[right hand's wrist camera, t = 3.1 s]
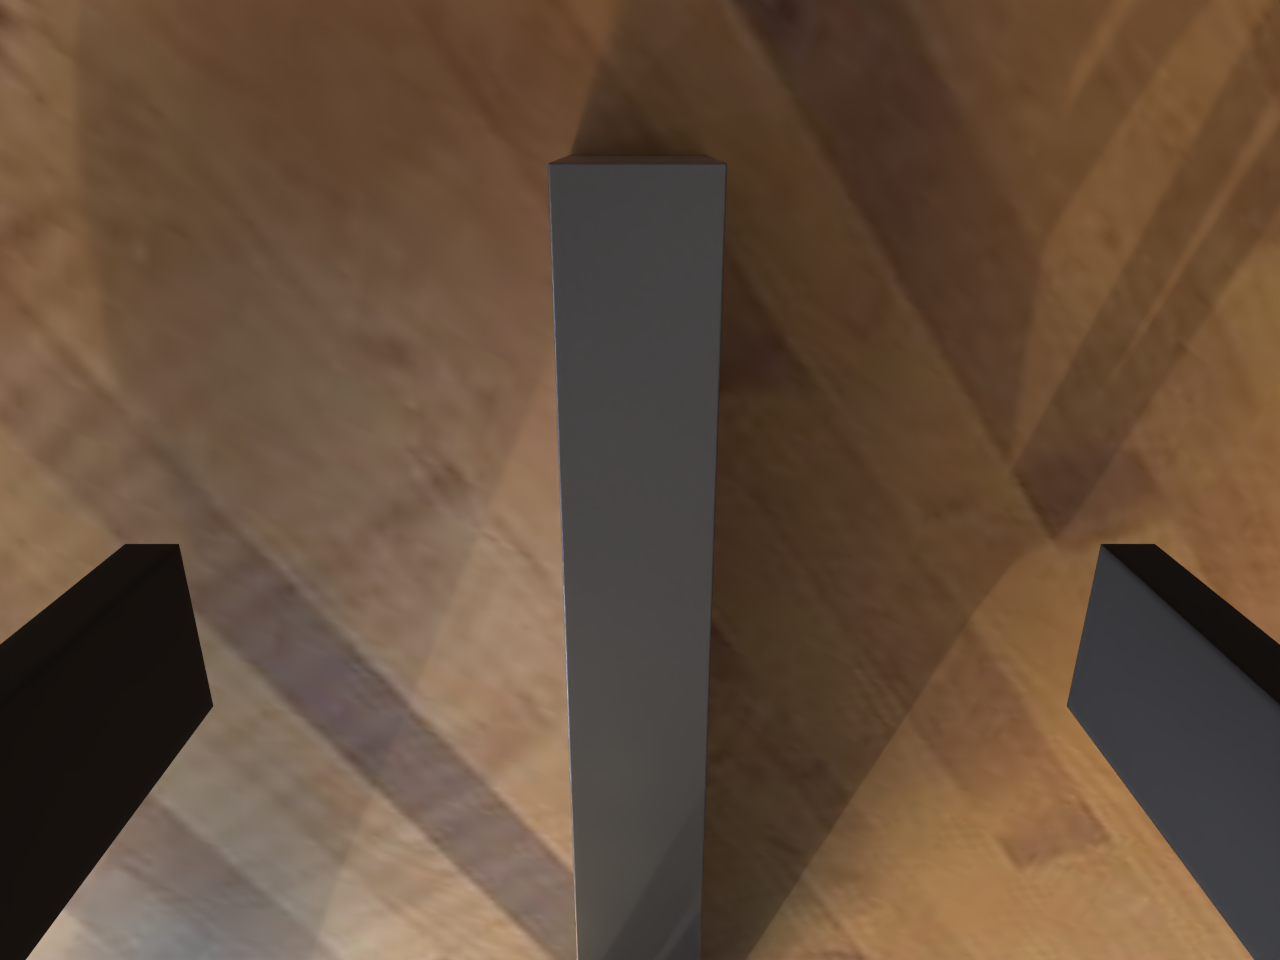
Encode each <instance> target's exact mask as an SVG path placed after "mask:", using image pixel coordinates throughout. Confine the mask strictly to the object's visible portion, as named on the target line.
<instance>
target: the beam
mask: <svg viewBox="0 0 1280 960" xmlns="http://www.w3.org/2000/svg"><path fill="white" fill-rule="evenodd" d="M548 174H549V202H550V230H551V258H552V286H553V313H554V341H555V369H556V397H557V425H558V453H559V481H560V508H561V536H562V564H563V592H564V620H565V648H566V676H567V703H568V731H569V759H570V787H571V815H572V843H573V871H574V898H575V926H576V954H577V960H700V945H701V916H702V886H703V857H704V827H705V798H706V769H707V739H708V710H709V680H710V651H711V622H712V592H713V563H714V534H715V504H716V475H717V445H718V416H719V387H720V357H721V328H722V298H723V269H724V240H725V210H726V181H727V164H726V163H724V162H722V161H719V160H717V159H714V158H712V157H709V156H707V155H569V156H567V157H564V158H561V159H559V160H556V161H554V162H551V163H549V164H548Z"/></svg>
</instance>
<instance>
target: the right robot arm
mask: <svg viewBox="0 0 1280 960" xmlns="http://www.w3.org/2000/svg"><path fill="white" fill-rule="evenodd" d="M212 707H213V703H212V698H211V693H210V689H209V684H208V679H207V674H206V670H205V665H204V660H203V656H202V651H201V646H200V641H199V637H198V632H197V627H196V622H195V618H194V613H193V608H192V604H191V599H190V594H189V589H188V585H187V580H186V575H185V570H184V566H183V561H182V556H181V551H180V547H179V544H125V545H123V546H122V547H121V548H120V549H118V550H117V551H116V552H115V553H113V554H112V555H111V556H110V557H109V558H107V559H106V560H105V561H104V562H102V563H101V564H100V565H99V566H97V567H96V568H95V569H94V570H92V571H91V572H90V573H89V574H87V575H86V576H85V577H84V578H82V579H81V580H80V581H79V582H77V583H76V584H75V585H74V586H73V587H71V588H70V589H69V590H68V591H66V592H65V593H64V594H63V595H61V596H60V597H59V598H58V599H56V600H55V601H54V602H53V603H51V604H50V605H49V606H48V607H46V608H45V609H44V610H43V611H42V612H40V613H39V614H38V615H37V616H35V617H34V618H33V619H32V620H30V621H29V622H28V623H27V624H25V625H24V626H23V627H22V628H20V629H19V630H18V631H17V632H15V633H14V634H13V635H12V636H11V637H9V638H8V639H7V640H6V641H4V642H3V643H2V644H1V645H0V960H26V958H27V957H28V956H29V954H30V953H31V952H32V950H33V949H34V948H35V946H36V945H37V944H38V942H39V941H40V940H41V938H42V937H43V935H44V934H45V933H46V931H47V930H48V929H49V927H50V926H51V925H52V923H53V922H54V921H55V919H56V918H57V917H58V915H59V914H60V913H61V911H62V910H63V908H64V907H65V906H66V904H67V903H68V902H69V900H70V899H71V898H72V896H73V895H74V894H75V892H76V891H77V890H78V888H79V887H80V885H81V884H82V883H83V881H84V880H85V879H86V877H87V876H88V875H89V873H90V872H91V871H92V869H93V868H94V867H95V865H96V864H97V862H98V861H99V860H100V858H101V857H102V856H103V854H104V853H105V852H106V850H107V849H108V848H109V846H110V845H111V844H112V842H113V841H114V840H115V838H116V837H117V835H118V834H119V833H120V831H121V830H122V829H123V827H124V826H125V825H126V823H127V822H128V821H129V819H130V818H131V817H132V815H133V814H134V812H135V811H136V810H137V808H138V807H139V806H140V804H141V803H142V802H143V800H144V799H145V798H146V796H147V795H148V794H149V792H150V791H151V789H152V788H153V787H154V785H155V784H156V783H157V781H158V780H159V779H160V777H161V776H162V775H163V773H164V772H165V771H166V769H167V768H168V766H169V765H170V764H171V762H172V761H173V760H174V758H175V757H176V756H177V754H178V753H179V752H180V750H181V749H182V748H183V746H184V745H185V744H186V742H187V741H188V739H189V738H190V737H191V735H192V734H193V733H194V731H195V730H196V729H197V727H198V726H199V725H200V723H201V722H202V721H203V719H204V718H205V716H206V715H207V714H208V712H209V711H210V710H211V708H212ZM1067 707H1068V708H1069V710H1070V711H1071V712H1072V714H1073V715H1074V716H1075V718H1076V719H1077V721H1078V722H1079V723H1080V725H1081V726H1082V727H1083V729H1084V730H1085V731H1086V733H1087V734H1088V735H1089V737H1090V738H1091V739H1092V741H1093V742H1094V744H1095V745H1096V746H1097V748H1098V749H1099V750H1100V752H1101V753H1102V754H1103V756H1104V757H1105V758H1106V760H1107V761H1108V762H1109V764H1110V765H1111V766H1112V768H1113V769H1114V771H1115V772H1116V773H1117V775H1118V776H1119V777H1120V779H1121V780H1122V781H1123V783H1124V784H1125V785H1126V787H1127V788H1128V789H1129V791H1130V792H1131V794H1132V795H1133V796H1134V798H1135V799H1136V800H1137V802H1138V803H1139V804H1140V806H1141V807H1142V808H1143V810H1144V811H1145V812H1146V814H1147V815H1148V817H1149V818H1150V819H1151V821H1152V822H1153V823H1154V825H1155V826H1156V827H1157V829H1158V830H1159V831H1160V833H1161V834H1162V835H1163V837H1164V838H1165V840H1166V841H1167V842H1168V844H1169V845H1170V846H1171V848H1172V849H1173V850H1174V852H1175V853H1176V854H1177V856H1178V857H1179V858H1180V860H1181V861H1182V862H1183V864H1184V865H1185V867H1186V868H1187V869H1188V871H1189V872H1190V873H1191V875H1192V876H1193V877H1194V879H1195V880H1196V881H1197V883H1198V884H1199V885H1200V887H1201V888H1202V890H1203V891H1204V892H1205V894H1206V895H1207V896H1208V898H1209V899H1210V900H1211V902H1212V903H1213V904H1214V906H1215V907H1216V908H1217V910H1218V911H1219V913H1220V914H1221V915H1222V917H1223V918H1224V919H1225V921H1226V922H1227V923H1228V925H1229V926H1230V927H1231V929H1232V930H1233V931H1234V933H1235V934H1236V935H1237V937H1238V938H1239V940H1240V941H1241V942H1242V944H1243V945H1244V946H1245V948H1246V949H1247V950H1248V952H1249V953H1250V954H1251V956H1252V957H1253V958H1254V960H1280V645H1279V644H1278V643H1277V642H1276V641H1274V640H1273V639H1272V638H1271V637H1269V636H1268V635H1267V634H1266V633H1265V632H1263V631H1262V630H1261V629H1260V628H1258V627H1257V626H1256V625H1255V624H1253V623H1252V622H1251V621H1250V620H1248V619H1247V618H1246V617H1245V616H1243V615H1242V614H1241V613H1240V612H1238V611H1237V610H1236V609H1235V608H1234V607H1232V606H1231V605H1230V604H1229V603H1227V602H1226V601H1225V600H1224V599H1222V598H1221V597H1220V596H1219V595H1217V594H1216V593H1215V592H1214V591H1212V590H1211V589H1210V588H1209V587H1207V586H1206V585H1205V584H1204V583H1203V582H1201V581H1200V580H1199V579H1198V578H1196V577H1195V576H1194V575H1193V574H1191V573H1190V572H1189V571H1188V570H1186V569H1185V568H1184V567H1183V566H1181V565H1180V564H1179V563H1178V562H1176V561H1175V560H1174V559H1173V558H1171V557H1170V556H1169V555H1168V554H1167V553H1165V552H1164V551H1163V550H1162V549H1160V548H1159V547H1158V546H1157V545H1155V544H1101V547H1100V551H1099V556H1098V561H1097V566H1096V570H1095V575H1094V580H1093V585H1092V589H1091V594H1090V599H1089V604H1088V608H1087V613H1086V618H1085V622H1084V627H1083V632H1082V637H1081V641H1080V646H1079V651H1078V656H1077V660H1076V665H1075V670H1074V674H1073V679H1072V684H1071V689H1070V693H1069V698H1068V703H1067Z"/></svg>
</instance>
